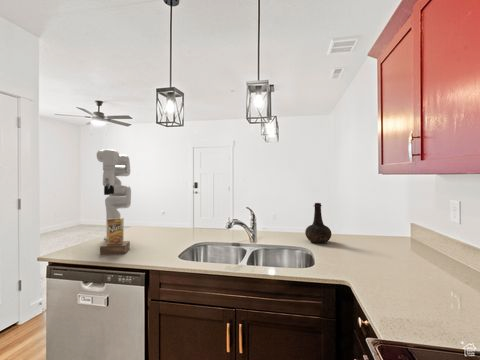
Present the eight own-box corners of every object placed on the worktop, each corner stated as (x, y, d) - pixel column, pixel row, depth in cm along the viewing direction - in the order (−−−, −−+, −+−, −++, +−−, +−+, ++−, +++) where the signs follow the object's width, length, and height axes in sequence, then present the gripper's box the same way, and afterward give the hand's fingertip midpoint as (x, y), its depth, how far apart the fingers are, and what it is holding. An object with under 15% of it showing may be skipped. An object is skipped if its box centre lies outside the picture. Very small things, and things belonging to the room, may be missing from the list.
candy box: (106, 244, 168) (106, 219, 168) (108, 243, 172) (108, 218, 172) (122, 243, 170) (122, 218, 170) (123, 242, 175) (123, 217, 174)
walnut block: (106, 249, 176) (106, 241, 176) (129, 248, 178) (129, 241, 178) (99, 254, 164) (99, 246, 164) (125, 254, 166) (125, 245, 166)
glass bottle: (335, 242, 200) (335, 203, 200) (324, 246, 187) (324, 204, 187) (312, 238, 212) (312, 201, 212) (300, 242, 199) (300, 203, 199)
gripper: (107, 168, 192) (107, 193, 192) (98, 167, 175) (98, 195, 175) (118, 168, 193) (118, 193, 193) (111, 168, 176) (111, 195, 176)
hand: (109, 194), depth 184 cm, fingers open, 9 cm apart
